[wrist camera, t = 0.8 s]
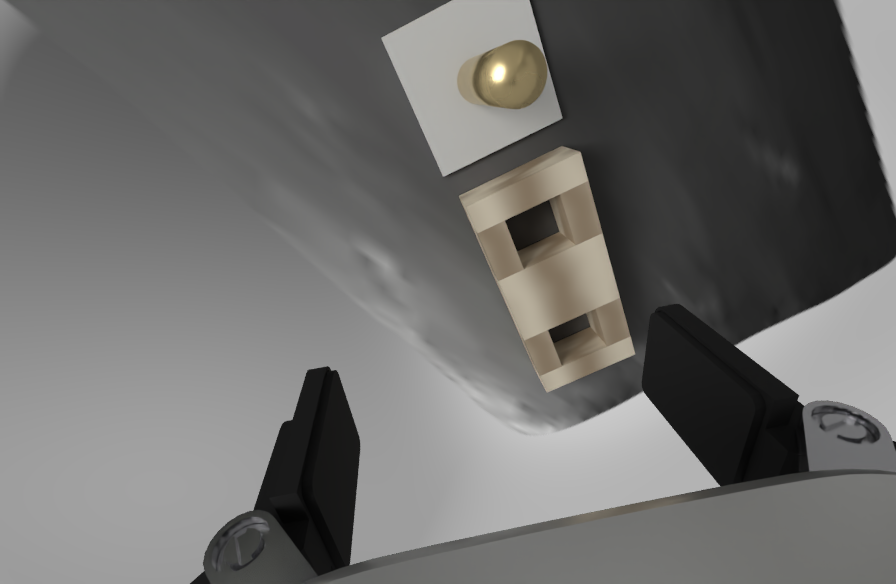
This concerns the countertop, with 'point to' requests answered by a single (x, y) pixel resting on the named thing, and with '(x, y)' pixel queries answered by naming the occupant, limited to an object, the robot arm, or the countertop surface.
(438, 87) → the rubber mat
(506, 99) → the brass peg
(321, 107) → the countertop surface
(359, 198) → the countertop surface
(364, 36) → the countertop surface
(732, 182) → the countertop surface
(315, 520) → the robot arm
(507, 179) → the hole block
